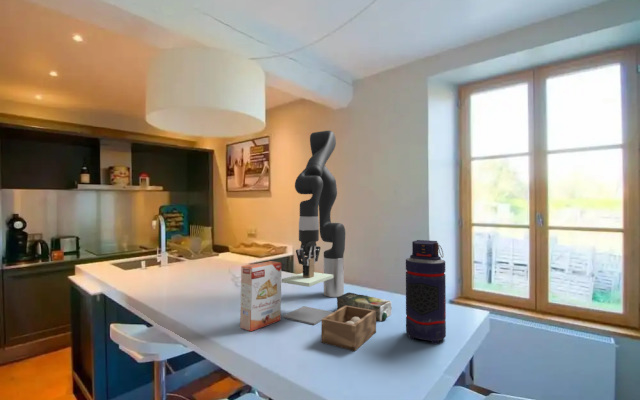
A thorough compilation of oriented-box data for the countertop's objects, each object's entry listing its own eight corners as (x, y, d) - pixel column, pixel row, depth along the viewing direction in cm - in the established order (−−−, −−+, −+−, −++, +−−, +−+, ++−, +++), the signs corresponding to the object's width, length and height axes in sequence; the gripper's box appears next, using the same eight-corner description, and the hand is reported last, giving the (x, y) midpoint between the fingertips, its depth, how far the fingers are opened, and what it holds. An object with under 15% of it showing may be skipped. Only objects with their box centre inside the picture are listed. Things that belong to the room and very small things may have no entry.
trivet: (303, 307, 130) (303, 306, 130) (334, 313, 123) (334, 312, 123) (282, 317, 118) (282, 316, 118) (314, 325, 111) (314, 323, 111)
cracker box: (251, 332, 104) (251, 267, 105) (239, 328, 108) (240, 265, 108) (282, 320, 115) (282, 262, 116) (270, 317, 119) (270, 260, 119)
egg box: (345, 325, 110) (345, 305, 110) (375, 332, 105) (375, 310, 105) (321, 342, 97) (321, 319, 97) (354, 351, 91) (354, 326, 91)
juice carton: (394, 315, 122) (394, 299, 122) (383, 323, 114) (383, 305, 114) (349, 306, 134) (349, 291, 134) (336, 312, 126) (335, 296, 126)
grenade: (442, 347, 93) (442, 243, 94) (401, 339, 99) (401, 241, 100) (449, 331, 105) (448, 239, 106) (412, 325, 111) (412, 238, 112)
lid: (307, 275, 131) (307, 254, 131) (333, 279, 125) (333, 256, 125) (281, 284, 117) (281, 259, 117) (309, 288, 111) (309, 262, 111)
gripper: (310, 227, 129) (310, 270, 129) (289, 229, 117) (289, 276, 117) (326, 228, 125) (326, 272, 125) (306, 229, 113) (306, 279, 113)
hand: (308, 274), depth 121 cm, fingers closed on lid, 3 cm apart
